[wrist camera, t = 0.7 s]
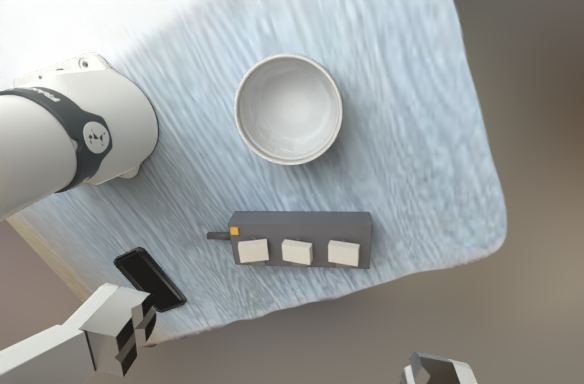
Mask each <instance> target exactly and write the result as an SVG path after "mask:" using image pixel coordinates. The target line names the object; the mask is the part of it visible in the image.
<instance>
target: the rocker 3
mask: <svg viewBox="0 0 584 384" xmlns="http://www.w3.org/2000/svg"><path fill="white" fill-rule="evenodd" d="M359 248H360V244H354V243H347V242H341V241H334V240H330V242H329V244H328V262H334V263H340V264H345V265H351V266H357V267H358V263H359Z"/></svg>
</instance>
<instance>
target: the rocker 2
mask: <svg viewBox="0 0 584 384" xmlns="http://www.w3.org/2000/svg"><path fill="white" fill-rule="evenodd" d="M282 254H283V260H285V261H290V262H295V263H301V264H306V265H310V264H311V262H312V260H313V253H312V243H306V242H300V241H294V240H287V239H285V240H284V241H283V243H282Z"/></svg>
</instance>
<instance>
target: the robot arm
mask: <svg viewBox="0 0 584 384" xmlns="http://www.w3.org/2000/svg"><path fill="white" fill-rule="evenodd" d="M86 62H87V64H88V67H87V65H86ZM157 138H158V125H157V120H156V116H155V113H154V110H153V108H152V106H151V104H150V102H149V101H148V99H147V97H146V96H145V95H144V93H143V92H142V91H141V90H140V89H139V88H138V87H137V86H136V85H135V84H134V83H133V82H131V81H130V80H129V79H127V78H126V77H124V76H122V75H120V74H119V73H117V72H116V71H114V70H113V69H112V68H111V67H110V66H109V65H108V63H107V62H106V61H105V60H104V59H103V58H102V57H101V56H100V55H99V54H97V53H93V52H92V53H87V54H84V55H81V56H78V57H75V58H72V59H69V60H66V61H64V62H61V63H58V64H55V65H52V66H49V67H47V68H44V69H41V70H38V71H35V72H32V73H29V74H27V75H24V76H21V77H18V78H16V79H15V80H14V84H13V88H12V89H8V90H4V91H1V92H0V222H1V221H2V220H4V219H6V218H7V217H9V216H11V215H13V214H15V213H17V212H19V211H20V210H22V209H24V208H26V207H28V206H30V205H32V204H33V203H35V202H37V201H39V200H41V199H43V198H45V197H47V196H49V195H51V194H53V193H60V192H64V191H67V190H69V189H73V188H75V187H77V186H79V185H81V184H85V183H88V184H93V185H99V184H102V183H104V182H106V181H108V180H110V179H113V178H115V177H121V178H127V179H129V178H132V177H134V176H136V175H137V173H138V170H139V167H140V164H141V163H142V162H143V161H144V160H145V159H146V158H147V157H148V156H149V155H150V154H151V153H152V151H153V150H154V148H155V145H156V142H157ZM154 303H155V297H154V294H150V293H146V292H142V291H138V290H134V289H130V288H126V287H122V286H118V285H114V284H109V283H106V284H104V285H102V286H100V287H99V288H98V289H97V290H96V291H95V292H94V293H93V294H92V295H91V296H90V297H89V298H88V300H87V301H86V302H85V303H84V304H83V305H82V306H81V307H80V308H79V309H78V310H77V311H76V312H75V313H74V314H73V315H72V316H71V317H70V318H69V319H68V320H67V321H66V322H65V323H64V324H63V325H62V326H61V325H55V326H53V327H51V328H49V329H47V330H44V331H42V332H40V333H38V334H36V335H34V336H32V337H30V338H27V339H25V340H23V341H21V342H19V343H17V344H15V345H12V346H10V347H8V348H6V349H4V350H2V351H0V384H82V383H83V382H84V381H86V380H87V379H88V378H90V377H91V376H93V375H94V374H95V372H100V373H104V374H109V375H114V376H119V377H124V376H125V374H126V373H127V371H128V370H129V368H130V367H131V365H132V364H133V362H134V360H135V359H136V357H137V348H138V347H140V346H141V345H143V344H144V343H146V342H147V340H148V339H149V337H150V335H151V334H152V331H153V329H154V326H155V323H156V311H155V310H154V309H153V308H152V306H153V304H154ZM409 360H410V366H407V367H405V368H404V370H403V372H402V374H401V379H400V384H477V381H476V379H475V377H474V374H473V372H472V370H471V368H470V366H469V365H468V364H467V363H464V362H459V361H454V360H450V359H447V358H443V357H438V356H433V355H428V354H423V353H418V352H414V353H412V355H411V357H410V358H409Z"/></svg>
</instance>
